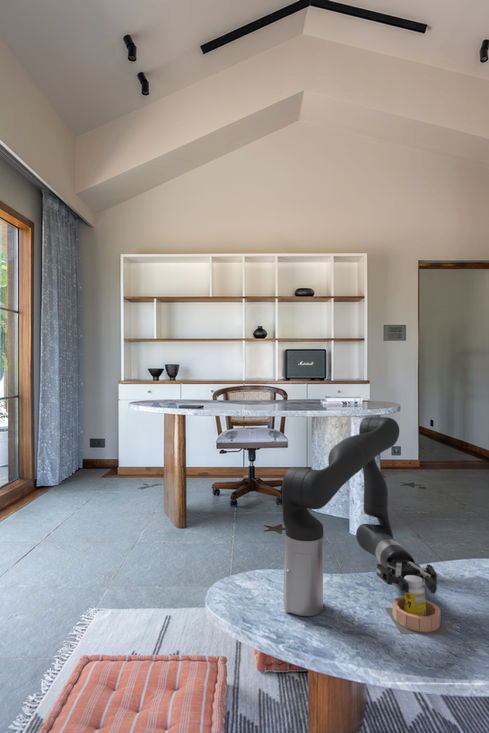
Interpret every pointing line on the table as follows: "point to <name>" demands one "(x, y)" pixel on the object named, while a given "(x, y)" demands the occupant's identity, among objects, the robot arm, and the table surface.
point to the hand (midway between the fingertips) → (420, 588)
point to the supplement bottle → (415, 596)
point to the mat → (406, 631)
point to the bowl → (416, 617)
